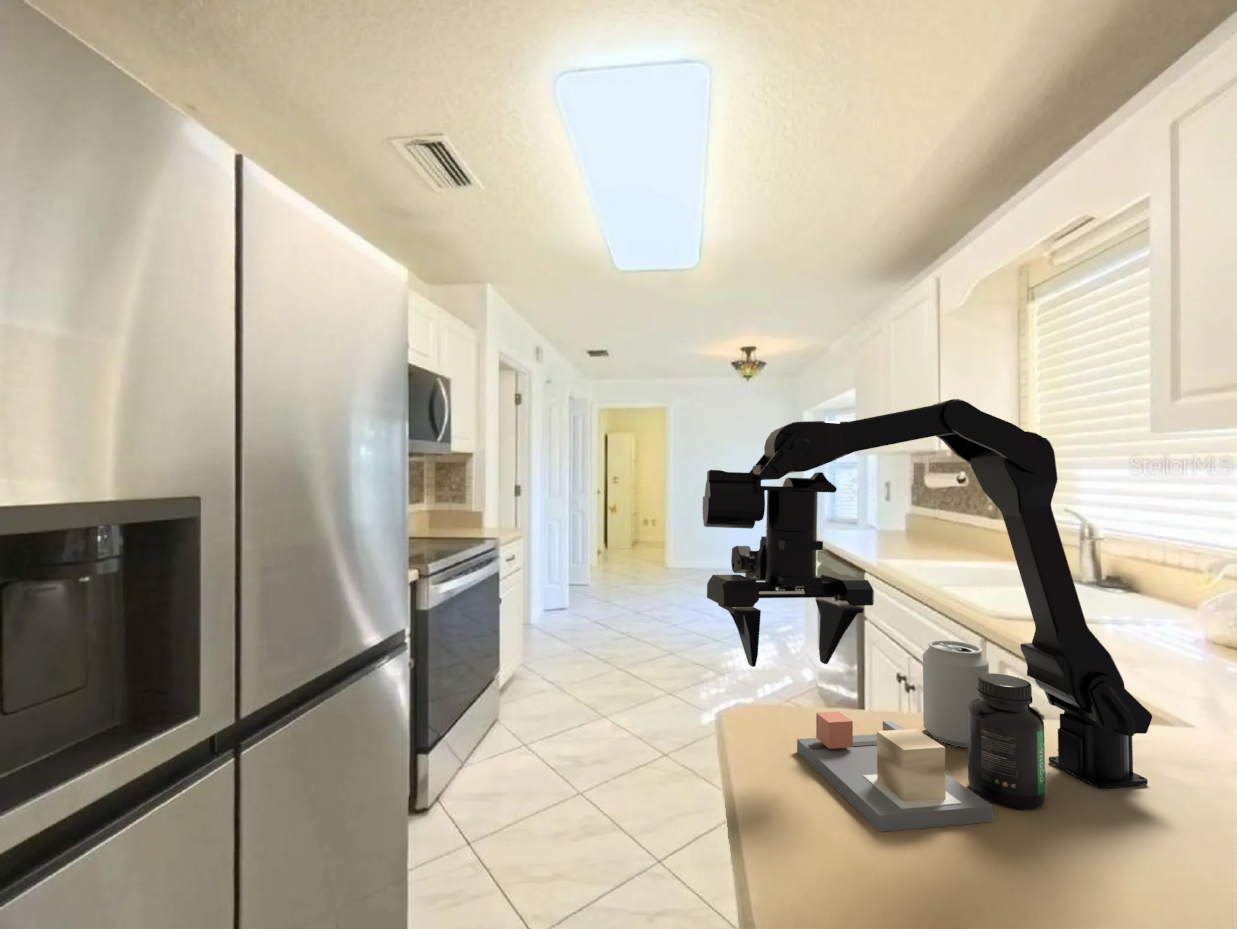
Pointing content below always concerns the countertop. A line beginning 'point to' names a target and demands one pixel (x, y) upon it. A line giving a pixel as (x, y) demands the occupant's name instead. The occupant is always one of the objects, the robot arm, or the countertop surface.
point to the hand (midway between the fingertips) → (788, 664)
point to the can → (950, 688)
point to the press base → (876, 802)
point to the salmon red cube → (834, 730)
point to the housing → (911, 765)
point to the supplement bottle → (1006, 744)
